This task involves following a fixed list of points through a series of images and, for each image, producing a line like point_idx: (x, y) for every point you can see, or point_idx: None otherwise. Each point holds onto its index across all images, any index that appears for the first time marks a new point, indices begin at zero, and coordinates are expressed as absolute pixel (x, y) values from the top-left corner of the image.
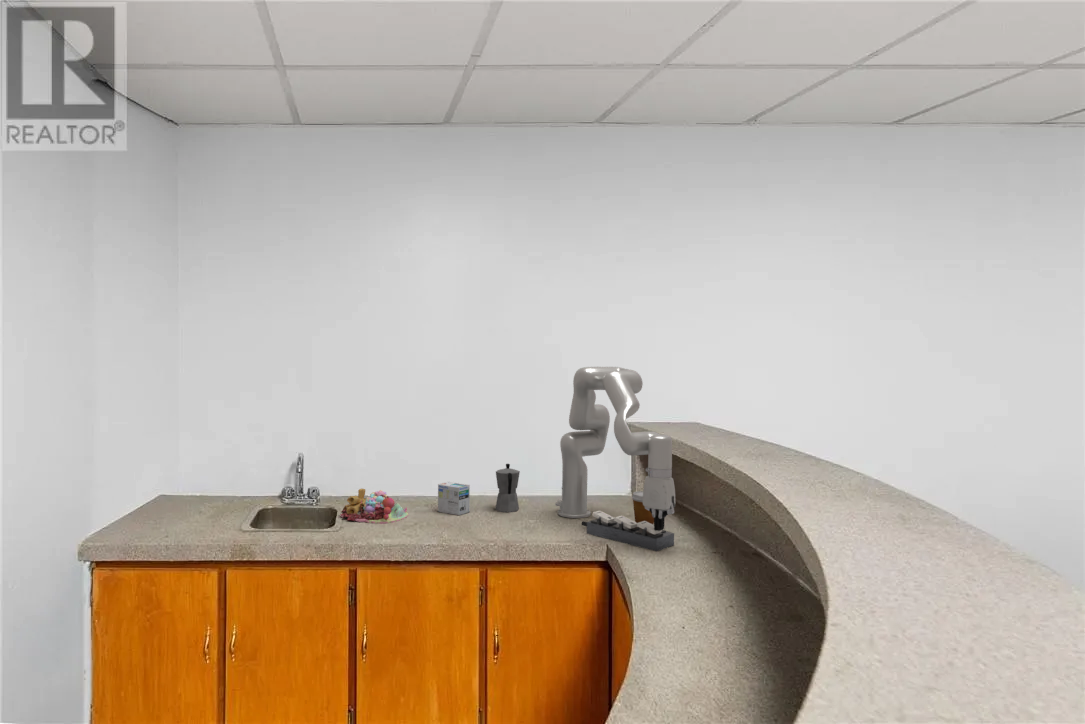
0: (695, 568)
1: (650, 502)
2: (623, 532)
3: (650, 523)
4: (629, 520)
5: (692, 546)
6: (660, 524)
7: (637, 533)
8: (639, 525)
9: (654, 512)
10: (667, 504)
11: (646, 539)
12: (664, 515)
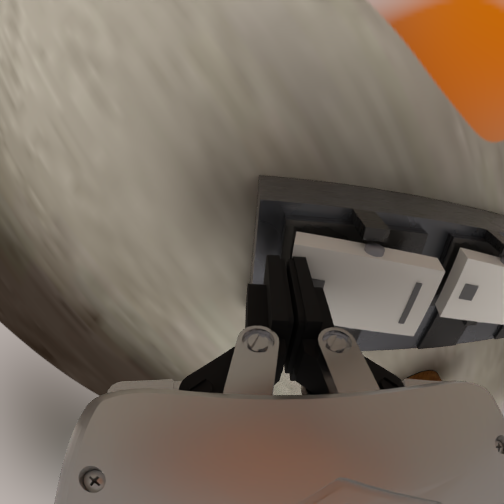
0: (11, 102)
1: (415, 455)
2: (475, 223)
3: (372, 330)
4: (482, 309)
5: (185, 334)
6: (259, 298)
7: (411, 227)
8: (425, 261)
9: (337, 370)
10: (67, 460)
11: (338, 200)
12: (209, 365)
